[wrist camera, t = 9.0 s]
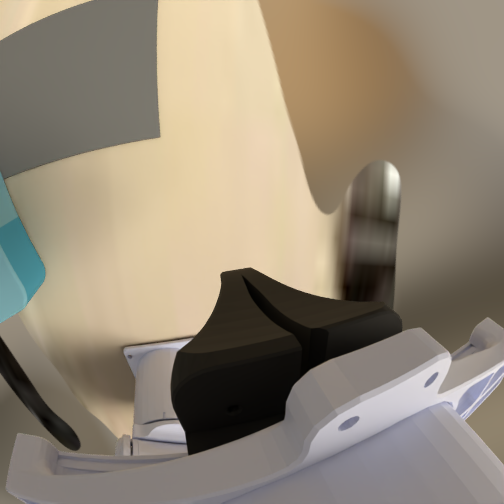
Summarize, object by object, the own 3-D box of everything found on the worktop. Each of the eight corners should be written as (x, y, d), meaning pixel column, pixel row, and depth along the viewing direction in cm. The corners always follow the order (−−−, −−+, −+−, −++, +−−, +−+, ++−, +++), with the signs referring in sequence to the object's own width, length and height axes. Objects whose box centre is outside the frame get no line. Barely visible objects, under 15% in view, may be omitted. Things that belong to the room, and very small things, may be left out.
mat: (160, 137, 18) (160, 137, 18) (-41, 199, 13) (-43, 200, 13) (158, -12, 13) (158, -14, 12) (-40, 69, 8) (-42, 69, 8)
